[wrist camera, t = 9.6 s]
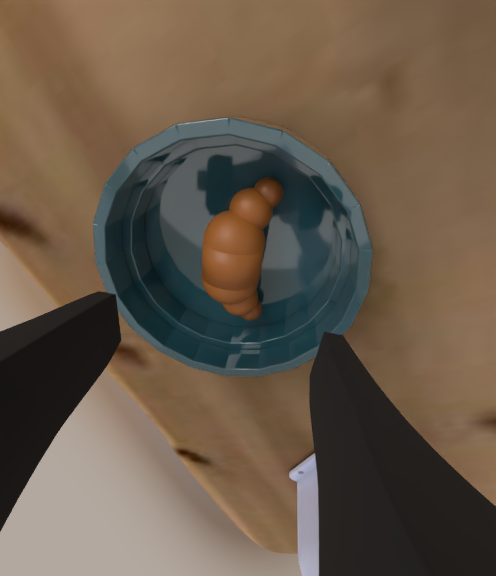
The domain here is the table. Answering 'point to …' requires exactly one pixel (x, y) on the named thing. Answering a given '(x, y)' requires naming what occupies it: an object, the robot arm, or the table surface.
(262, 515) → the table surface
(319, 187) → the bowl
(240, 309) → the croissant
